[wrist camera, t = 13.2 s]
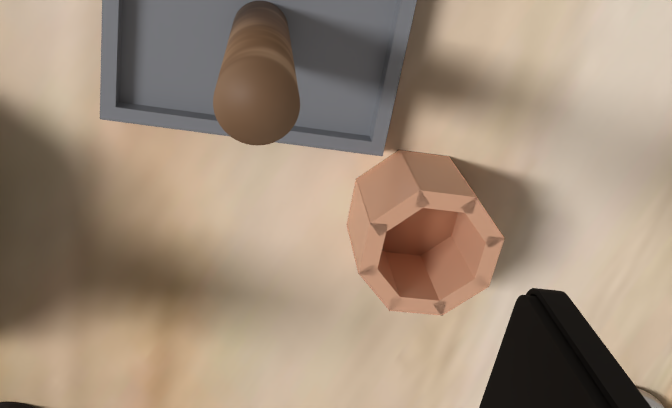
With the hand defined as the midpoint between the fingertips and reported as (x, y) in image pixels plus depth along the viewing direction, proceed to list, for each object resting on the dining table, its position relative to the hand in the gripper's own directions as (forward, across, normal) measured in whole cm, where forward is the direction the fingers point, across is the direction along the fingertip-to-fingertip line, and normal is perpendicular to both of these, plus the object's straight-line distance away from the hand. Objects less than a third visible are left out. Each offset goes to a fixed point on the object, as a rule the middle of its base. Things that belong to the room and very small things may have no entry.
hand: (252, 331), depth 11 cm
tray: (+27, 0, 0) cm, 27 cm away
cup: (+28, -11, +10) cm, 31 cm away
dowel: (+26, 0, 0) cm, 27 cm away
